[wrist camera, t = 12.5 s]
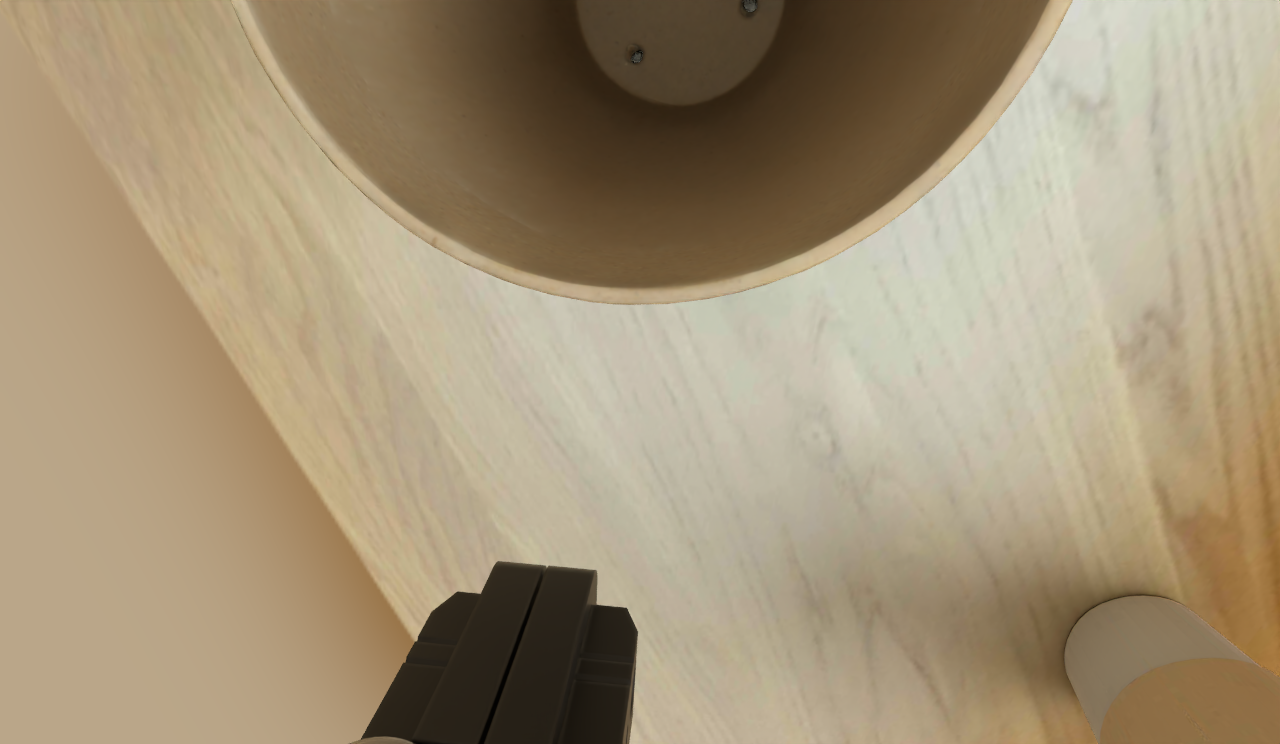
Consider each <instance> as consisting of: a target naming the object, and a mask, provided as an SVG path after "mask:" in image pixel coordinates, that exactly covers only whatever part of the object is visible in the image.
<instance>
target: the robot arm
mask: <svg viewBox="0 0 1280 744" xmlns="http://www.w3.org/2000/svg"><path fill="white" fill-rule="evenodd" d="M596 600H597V571H596V570H588V569H578V568H567V567H557V566H548V567H547V568H546V566H544V565H533V564H523V563H512V562H501V561H498V562H496V564H495V565H494V567H493V569H492V571H491V574H490V576H489V578H488V580H487V582H486V584H485V586H484V588H483V590H482V592H481V594H476V593H466V592H456V593H455V594H454V595H453V596H451V597H450V598H449V599H448V600H446V601H445V602H444V603H442V604H441V605H440V606H439V607H437V608H436V609H435V610H433V611H432V612H431V614H430V616H429V618H428V620H427V621H426V623H425V625H424V627H423V629H422V630H421V632H420V634H419V636H418V641H417V642H415V643H414V645H413V647H412V648H411V650H410V652H409V654H408V656H407V659H406V663H403V664H402V666H401V668H400V670H399V672H398V673H397V675H396V677H395V679H394V681H393V682H392V684H391V686H390V688H389V690H388V692H387V694H386V695H385V697H384V699H383V700H382V702H381V704H380V706H379V708H378V709H377V711H376V713H375V715H374V717H373V718H372V720H371V722H370V724H369V726H368V727H367V729H366V731H365V733H364V734H363V736H362V738H361V740H358V741H355V742H352V743H350V744H629V740H630V732H631V725H632V717H633V702H634V686H635V670H636V653H637V637H638V631H637V629H636V627H635V625H634V622H633V620H632V618H631V616H630V614H629V612H628V609H627V608H623V607H612V606H602V605H596Z"/></svg>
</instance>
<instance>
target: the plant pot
mask: <svg viewBox="0 0 1280 744" xmlns="http://www.w3.org/2000/svg"><path fill="white" fill-rule="evenodd" d="M756 1H757V5H758V6H757V9H756V10H755V11H753V12H748V11H747V10H746V9H745V8H744V7H743V0H231V2H232V5H233V7H234V9H235V12H236V14H237V16H238V19H239V21H240V23H241V26H242V28H243V30H244V32H245V34H246V36H247V38H248V40H249V43H250V45H251V47H252V49H253V51H254V53H255V55H256V57H257V58H258V60H259V62H260V63H261V65H262V67H263V68H264V70H265V72H266V73H267V75H268V77H269V78H270V80H271V82H272V83H273V85H274V87H275V88H276V90H277V91H278V93H279V94H280V96H281V97H282V99H283V100H284V102H285V103H286V104H287V106H288V107H289V109H290V110H291V112H292V113H293V115H294V116H295V117H296V119H297V120H298V121H299V122H300V124H301V125H302V126H303V127H304V129H305V130H306V131H307V133H308V134H309V135H310V136H311V138H312V139H313V140H314V141H315V142H316V144H317V145H318V146H319V147H320V149H321V150H322V151H323V152H324V153H325V155H326V156H327V157H328V158H329V159H330V161H331V162H332V163H333V164H334V165H335V166H336V167H337V168H338V169H339V170H340V171H341V172H342V173H343V174H344V175H345V176H346V177H347V178H348V179H349V180H350V181H351V182H352V183H353V184H354V185H355V186H356V187H357V188H358V189H359V190H360V191H361V192H362V193H363V194H364V195H365V196H366V197H368V198H369V199H370V200H371V201H372V202H373V203H375V204H376V205H377V206H378V207H379V208H380V209H382V210H383V211H384V212H385V213H386V214H388V215H389V216H390V217H391V218H393V219H394V220H395V221H397V222H398V223H399V224H400V225H402V226H403V227H404V228H406V229H407V230H409V231H410V232H412V233H413V234H415V235H416V236H418V237H419V238H421V239H422V240H424V241H425V242H427V243H428V244H430V245H431V246H433V247H435V248H437V249H439V250H441V251H443V252H444V253H446V254H448V255H450V256H452V257H454V258H456V259H458V260H459V261H461V262H463V263H465V264H467V265H469V266H472V267H474V268H476V269H479V270H481V271H483V272H486V273H488V274H490V275H492V276H495V277H497V278H499V279H502V280H505V281H508V282H511V283H513V284H516V285H520V286H523V287H527V288H530V289H533V290H537V291H540V292H544V293H547V294H551V295H557V296H562V297H567V298H572V299H577V300H583V301H588V302H597V303H607V304H628V305H634V304H669V303H677V302H686V301H694V300H702V299H709V298H714V297H719V296H723V295H728V294H733V293H738V292H742V291H745V290H749V289H752V288H756V287H759V286H762V285H766V284H769V283H771V282H774V281H777V280H780V279H782V278H785V277H788V276H791V275H794V274H797V273H799V272H802V271H805V270H807V269H809V268H811V267H814V266H816V265H818V264H820V263H822V262H824V261H826V260H828V259H830V258H832V257H834V256H836V255H838V254H839V253H841V252H843V251H845V250H846V249H848V248H850V247H851V246H853V245H855V244H857V243H858V242H860V241H862V240H863V239H865V238H867V237H868V236H870V235H872V234H873V233H875V232H877V231H878V230H879V229H881V228H882V227H884V226H885V225H886V224H888V223H889V222H891V221H892V220H893V219H895V218H896V217H898V216H899V215H900V214H902V213H903V212H904V211H906V210H907V209H908V208H910V207H911V206H912V205H913V204H914V203H916V202H917V201H918V200H919V199H921V198H922V197H923V196H924V195H925V194H927V193H928V192H929V191H930V190H932V189H933V188H934V187H935V186H936V185H937V184H938V183H939V182H940V181H941V180H942V179H943V178H945V177H946V176H947V175H948V174H949V173H950V172H951V171H952V170H953V169H954V168H955V167H956V166H957V165H958V164H959V163H960V162H961V161H962V160H963V159H964V158H965V157H966V156H967V155H968V154H969V153H970V151H971V150H972V149H973V148H974V147H975V146H976V145H977V144H978V143H979V142H980V141H981V140H982V138H983V137H984V136H985V135H986V134H987V132H988V131H989V130H990V129H991V128H992V126H993V125H994V124H995V123H996V121H997V120H998V119H999V118H1000V116H1001V115H1002V114H1003V113H1004V111H1005V110H1006V109H1007V108H1008V106H1009V105H1010V104H1011V102H1012V101H1013V100H1014V98H1015V97H1016V95H1017V94H1018V92H1019V91H1020V90H1021V88H1022V87H1023V85H1024V84H1025V83H1026V81H1027V80H1028V78H1029V77H1030V75H1031V74H1032V73H1033V71H1034V69H1035V68H1036V66H1037V64H1038V62H1039V61H1040V59H1041V57H1042V56H1043V54H1044V52H1045V51H1046V49H1047V47H1048V46H1049V44H1050V42H1051V41H1052V39H1053V37H1054V35H1055V34H1056V32H1057V30H1058V28H1059V26H1060V24H1061V22H1062V20H1063V18H1064V16H1065V14H1066V12H1067V10H1068V8H1069V7H1070V5H1071V3H1072V0H756ZM639 50H641V51H643V57H642V60H641V61H640V62H638V63H632V60H631V58H632V55H633V54H634V53H635V52H636V51H639Z"/></svg>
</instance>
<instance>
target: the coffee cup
mask: <svg viewBox="0 0 1280 744" xmlns="http://www.w3.org/2000/svg"><path fill="white" fill-rule="evenodd" d="M1064 663H1065V668H1066V673H1067V676H1068V678H1069V680H1070V682H1071V685H1072V687H1073V689H1074V691H1075V693H1076V696H1077V698H1078V700H1079V702H1080V704H1081V707H1082V709H1083V711H1084V713H1085V715H1086V718H1087V720H1088V722H1089V724H1090V726H1091V729H1092V731H1093V733H1094V735H1095V737H1096V740H1097V742H1098V744H1280V677H1278V676H1277V675H1276V674H1274V673H1273V672H1271V671H1270V670H1267V669H1265V668H1263V667H1260V666H1259V665H1258V664H1257V663H1255V662H1254V661H1253V660H1252V659H1251V658H1249V657H1248V656H1247V655H1246V654H1244V653H1243V652H1242V651H1241V650H1240V649H1238V648H1237V647H1236V646H1235V645H1233V644H1232V643H1231V642H1230V641H1228V640H1227V639H1226V638H1225V637H1224V636H1222V635H1221V634H1220V633H1219V632H1217V631H1216V630H1215V629H1214V628H1213V627H1211V626H1210V625H1209V624H1208V623H1206V622H1205V621H1204V620H1203V619H1201V618H1200V617H1199V616H1198V615H1197V614H1195V613H1194V612H1193V611H1191V610H1190V609H1188V608H1187V607H1186V606H1184V605H1182V604H1180V603H1178V602H1175V601H1173V600H1170V599H1166V598H1162V597H1157V596H1144V595H1141V596H1127V597H1122V598H1117V599H1113V600H1110V601H1107V602H1105V603H1102V604H1100V605H1098V606H1096V607H1094V608H1093V609H1091V610H1089V611H1088V612H1087V613H1086V614H1085V615H1084V616H1082V617H1081V618H1080V619H1079V621H1078V622H1077V623H1076V625H1075V626H1074V627H1073V629H1072V631H1071V633H1070V635H1069V637H1068V639H1067V643H1066V647H1065V655H1064Z"/></svg>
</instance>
